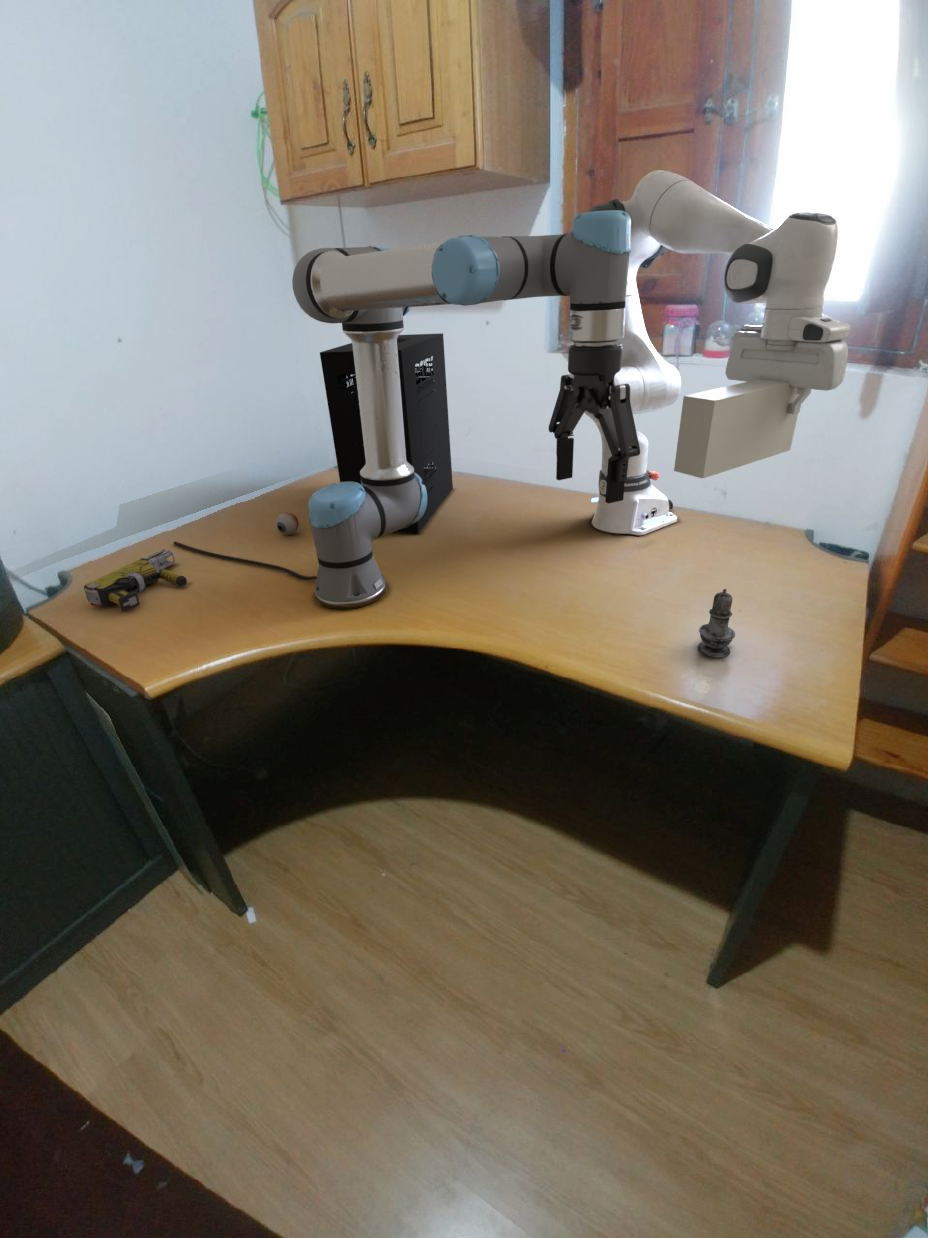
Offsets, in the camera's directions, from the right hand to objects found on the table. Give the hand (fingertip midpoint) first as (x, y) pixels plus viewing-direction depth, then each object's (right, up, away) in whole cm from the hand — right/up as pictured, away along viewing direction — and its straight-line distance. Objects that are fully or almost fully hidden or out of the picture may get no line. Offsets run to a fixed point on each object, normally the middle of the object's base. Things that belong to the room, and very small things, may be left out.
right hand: (773, 410), depth 109 cm
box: (-8, -9, -1) cm, 12 cm away
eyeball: (-104, -15, +56) cm, 119 cm away
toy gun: (-129, -31, +31) cm, 136 cm away
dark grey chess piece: (-12, -43, -3) cm, 45 cm away
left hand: (-37, -17, -14) cm, 43 cm away
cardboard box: (-74, -5, +69) cm, 101 cm away
